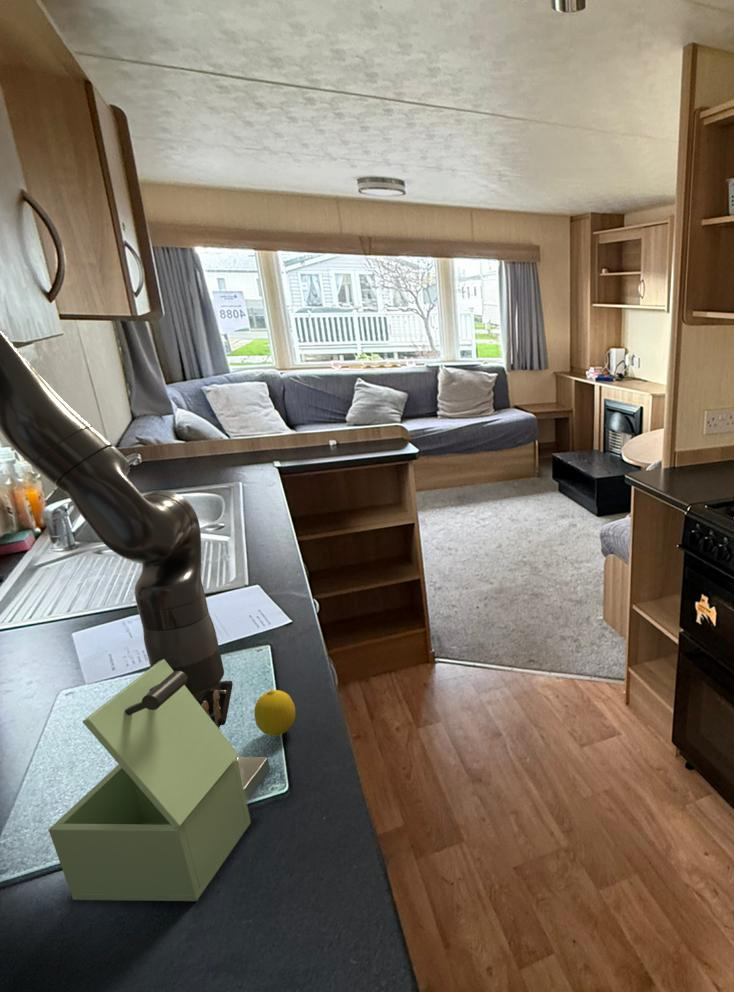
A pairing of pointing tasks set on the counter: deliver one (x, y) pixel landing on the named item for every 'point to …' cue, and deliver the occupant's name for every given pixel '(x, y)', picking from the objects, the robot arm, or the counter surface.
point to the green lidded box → (147, 841)
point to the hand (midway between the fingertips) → (211, 763)
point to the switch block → (252, 773)
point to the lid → (163, 741)
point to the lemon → (274, 712)
